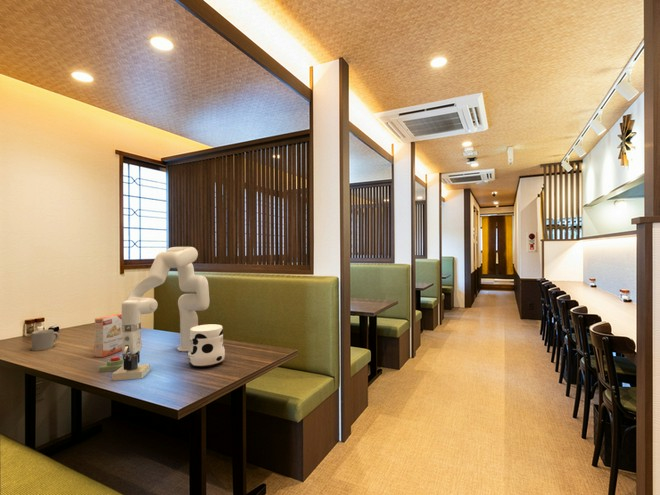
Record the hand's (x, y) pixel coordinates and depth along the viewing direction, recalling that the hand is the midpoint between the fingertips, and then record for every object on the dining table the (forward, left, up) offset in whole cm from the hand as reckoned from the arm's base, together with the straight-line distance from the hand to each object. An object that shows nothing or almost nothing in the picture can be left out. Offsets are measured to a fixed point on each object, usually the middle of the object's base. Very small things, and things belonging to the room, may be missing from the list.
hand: (131, 365), depth 154 cm
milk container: (-31, -9, -4) cm, 33 cm away
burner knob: (0, 0, -1) cm, 1 cm away
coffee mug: (+70, -61, -4) cm, 93 cm away
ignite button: (+12, -12, -1) cm, 17 cm away
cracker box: (+26, -39, -5) cm, 47 cm away
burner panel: (0, 0, -4) cm, 4 cm away
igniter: (+12, -12, -4) cm, 18 cm away
